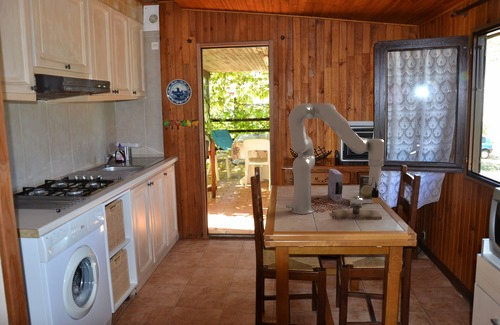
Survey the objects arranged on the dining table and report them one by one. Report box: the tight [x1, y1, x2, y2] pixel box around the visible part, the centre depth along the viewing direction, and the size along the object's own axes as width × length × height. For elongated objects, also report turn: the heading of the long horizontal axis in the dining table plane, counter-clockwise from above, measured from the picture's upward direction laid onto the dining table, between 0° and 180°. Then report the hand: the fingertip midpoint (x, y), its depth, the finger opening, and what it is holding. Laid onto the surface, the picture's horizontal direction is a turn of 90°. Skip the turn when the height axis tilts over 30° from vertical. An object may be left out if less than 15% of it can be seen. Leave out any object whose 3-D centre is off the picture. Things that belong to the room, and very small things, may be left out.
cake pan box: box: [327, 168, 344, 203], centre depth 255 cm, size 19×5×18 cm, turn 3°
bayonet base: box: [331, 205, 383, 220], centre depth 217 cm, size 24×12×6 cm, turn 86°
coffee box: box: [358, 174, 372, 200], centre depth 246 cm, size 9×6×16 cm
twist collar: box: [349, 193, 380, 207], centre depth 216 cm, size 15×6×8 cm, turn 86°
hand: (374, 197), depth 212 cm, fingers closed
